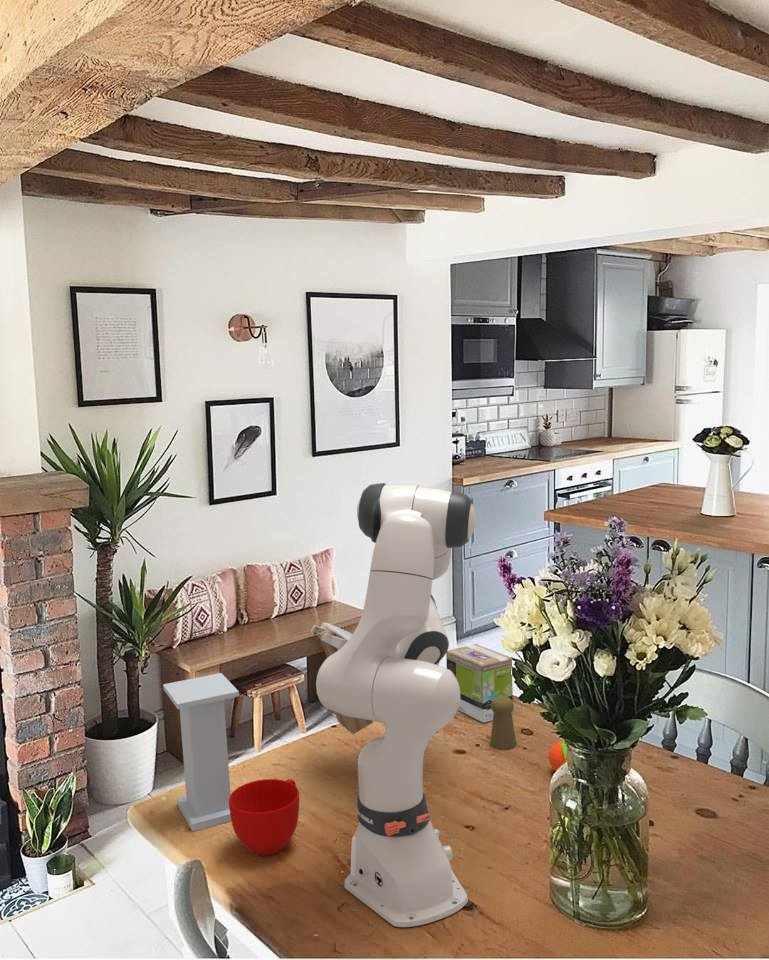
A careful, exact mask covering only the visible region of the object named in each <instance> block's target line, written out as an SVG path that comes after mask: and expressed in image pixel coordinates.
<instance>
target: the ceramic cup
mask: <svg viewBox="0 0 769 960" xmlns="http://www.w3.org/2000/svg"><path fill="white" fill-rule="evenodd" d="M230 794H231V795H230V797H229V809H230V816H231V821H230V822H231V825H232V828H233V831H234V834H235V835H236V838H238V841H239V842H240V843H241V844H242V845H243V846H244V847H245V848H246V849H247V850H249V851H250V852H251V853H252V854H254V855H256V856H270V855H271V854H272V855H274V854H275V855H276V854H277V853H279V852H280V850H281V851H282V850H283V849H284V848H285V846H286V845H287V844H288V842H289V841H290V840H291V839H292V837H293V835H294V833H295V831H296V829H297V826H298V822H299V821H298V820H299V816H300V815H299V813H300V812H299V810H300V792H299V788H298V786H297V784H296V781H295V780H294V779H291V778H288V779H286V780H283V779H276V778H268V779H259V780H253V781H250V782H247V783H245V784H242V785H240V786H239V787H237V788H235V789H234V790H233V791H232V792H231V793H230Z"/></svg>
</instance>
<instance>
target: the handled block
mask: <svg viewBox="0 0 769 960" xmlns="http://www.w3.org/2000/svg"><path fill="white" fill-rule="evenodd" d="M324 632H326V633H329V634H331V635H333V636H336V633H335V632H333V631H332V630H330V629H329V628H328V629H326V630H324V631H322V632H320V633H318V635H319V637H318V638H319V640H320V643H321V646H322V647H323V650H324V653H325V655H326V659H327V658H328V657H329V656H330V655H332V654H334V653H335V652H337V651H338V650H337V648H336V647H334V646H332V645H330V644H328V643H326V642H324V641H322V640H321V636H322V634H323V633H324ZM336 637H337V636H336ZM333 713H334V716H335V717H336V721H337V722H338V723H339V724H340V725H341V726H343V727H344V729H346V730H347V731H348V732H349V733H350V734H352V735H354V734H356V733H357V732H359V731H361V730H363V729H365V728H366V727H368V726H370V725H372V724H373V723H374V721H372V720H366V719H360V718H354V717H348V716H345V715H342V714H340V713H337V712H335V711H333Z"/></svg>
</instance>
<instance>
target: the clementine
mask: <svg viewBox="0 0 769 960" xmlns="http://www.w3.org/2000/svg"><path fill="white" fill-rule="evenodd" d="M563 741H564V740H559V741H557V742H556V743H554V744H553V746H552V747H550V750H549V753H548V760H549V764H550V766H551V768H552V769H553V770H554V771H555V772H556V770H557V769H558V768H559V767H560V766H561V765H562V764H564V763H565V762H566V760H567V747H566V744H565V743H564V742H563Z"/></svg>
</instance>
